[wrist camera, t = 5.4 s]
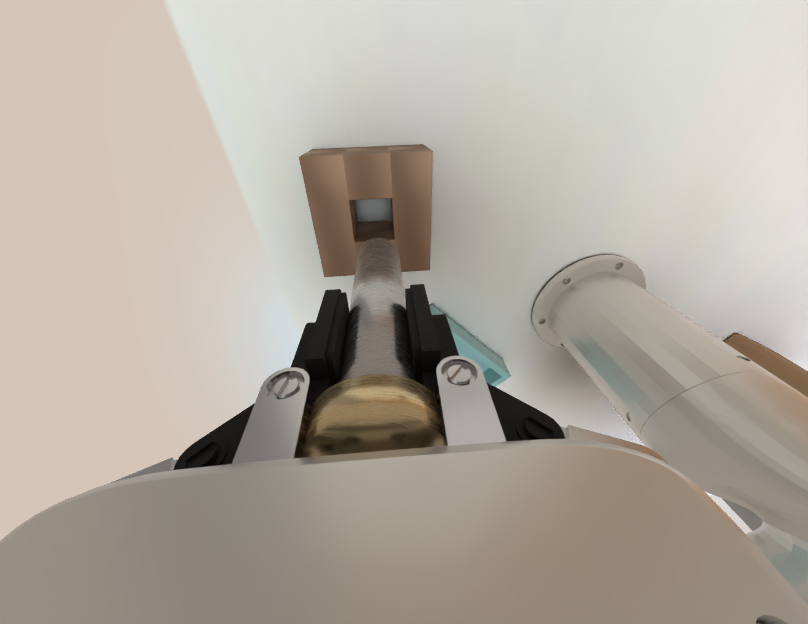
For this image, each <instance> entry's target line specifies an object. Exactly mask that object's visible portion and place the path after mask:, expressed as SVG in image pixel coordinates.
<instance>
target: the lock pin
mask: <svg viewBox="0 0 808 624" xmlns="http://www.w3.org/2000/svg"><path fill="white" fill-rule="evenodd" d="M438 446H445V444H444V437H443V430H442V424H441V417H440V411H439V404H438V398H437V397H436V396H435V394H434V393H433V392H432V391H431V390H429V389H428V388H427V387H425V386H424V385H422V384H420V383H418V382H416V381H415V376H414V368H413V360H412V353H411V345H410V337H409V330H408V322H407V315H406V303H405V295H404V288H403V280H402V273H401V266H400V258H399V252H398V249H397V248H396V246H395V245H394V244H393V243H392V242H391V241H389V240H387V239H385V238H372V239H369V240H367V241H366V242H365V243H364V244H363V245H362V246H361V248H360V250H359V253H358V260H357V266H356V273H355V279H354V285H353V292H352V298H351V305H350V311H349V319H348V325H347V331H346V338H345V344H344V351H343V357H342V364H341V370H340V377H339V383H337V384H334V385H333V386H331V387H329V388H328V389H326V390H325V391H324V392H323V393H322V394H321V395H320V396H319V397H318V398H317V399H316V400H315V402H314V403H313V406H312V408H311V411H310V417H309V422H308V427H307V432H306V437H305V441H304V446H303V455H302V458H305V457H316V456H328V455H340V454H352V453H364V452H376V451H388V450H400V449H412V448H425V447H438Z"/></svg>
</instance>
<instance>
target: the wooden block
mask: <svg viewBox="0 0 808 624" xmlns="http://www.w3.org/2000/svg"><path fill="white" fill-rule="evenodd" d="M724 342H725V343H726V344H728V345H729V346H731V347H732V348H734V349H735V350H737V351H738V352H740V353H741V354H743V355H744V356H746V357H747V358H749V359H750V360H752V361H753V362H755V363H756V364H758V365H759V366H761V367H762V368H764V369H765V370H767V371H768V372H770V373H772V374H773V375H775V376H776V377H778V378H779V379H781V380H782V381H784V382H785V383H787V384H788V385H790V386H791V387H793V388H794V389H796V390H797V391H799V392H800V393H802V394H803V395H805V396H806V397H808V371H806V370H804V369H803V368H801V367H799V366H798V365H796V364H794V363H793V362H791V361H789V360H788V359H786V358H784V357H783V356H781V355H779V354H778V353H776V352H774V351H772V350H770V349H768V348H766V347H764V346H763V345H761V344H759V343H757V342H755V341H753V340H751V339H749V338H747V337H745V336H743V335H741V334H734V335H732V336H731V337H729V338H728V339H727V340H725V341H724Z"/></svg>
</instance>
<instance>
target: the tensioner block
mask: <svg viewBox="0 0 808 624" xmlns="http://www.w3.org/2000/svg"><path fill="white" fill-rule="evenodd" d="M432 156H433V151H431V150H430V149H429V148H427V147H426V146H424V145H423V144H422V145H399V146H376V147H353V148H330V149H312V150H310V151H309V152H307V153H305V154H304V155H302V156H300V157H299V159H300V164H301V169H302V174H303V178H304V183H305V188H306V192H307V197H308V202H309V206H310V211H311V216H312V221H313V225H314V230H315V235H316V239H317V244H318V249H319V253H320V258H321V263H322V268H323V272H324V277H332V276H347V275H355V273H356V266H357V260H358V253H359V250H360V248H361V246H362V245H363V244H364V243H365V242H366V241H367V240H369V239H372V238H385V239H387V240H389V241H391V242H392V243H393V244H394V245H395V246H396V248H397V249H398V252H399V258H400V266H401V272H409V271H424V270H430V243H431V199H432ZM381 198H391V216H392V220H391V221H373V222H358V221H357V213H356V205H355V200H362V199H381Z"/></svg>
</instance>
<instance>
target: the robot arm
mask: <svg viewBox="0 0 808 624" xmlns="http://www.w3.org/2000/svg"><path fill="white" fill-rule="evenodd" d="M645 286H646V285H645V277H644V275H643V272H642V270H641V269H640V268H639V267H638V266H637V265H636V264H634V263H633V262H631V261H630V260H628V259H626V258H623V257H621V256H616V255H598V256H594V257H589V258H586V259H584V260H581V261H578V262H576V263H574V264H572V265H571V266H569V267H567V268H565V269H564V270H563V271H561V272H560V273H558V274H557V275H556V276H555V277H554V278H553V279H552V280H551V281H549V282H548V284H547V285H546V286H545V287H544V289H543V290H542V291H541V293H540V294H539V296H538V298H537V300H536V302H535V305H534V308H533V313H532V322H533V326H534V328H535V331H536V332H537V333H538V335H539V336H540V338H542V339H543V340H544V341H545V342H546V343H548V344H550V345H552V346H556V347H560V348H566V349H567V350H568V351H569V352H570V354H571V355H572V356H573V357H574V358H575V360H576V361H577V362H578V363H579V365H580V366H581V367H582V368H583V370H584V371H585V372H586V373H587V375H588V376H589V377H590V378H591V380H592V381H593V382H594V383H595V384H596V386H597V387H598V388H599V389H600V391H601V392H602V393H603V394H604V396H605V397H606V398H607V399H608V401H609V402H610V403H611V404H612V406H613V407H614V408H615V409H616V410H617V412H618V413H619V414H620V415H621V417H622V418H623V419H624V420H625V422H626V423H627V424H628V425H629V427H630V428H631V429H632V430H633V432H634V433H635V434H636V435H637V437H638V438H639V439H640V440H641V441H642V443H643V444H644V445H645V446H646V447H644V446H642V445H639V444H636V443H632V442H628V441H625V440H621V439H617V438H614V437H610V436H606V435H603V434H599V433H595V432H592V431H588V430H584V429H581V428H577V427H573V426H570V425H568V427H567V428H563V427H560V426H559V425H558V424H557V423H556V421H555V420H554V419H552V418H551V417H549V416H548V415H546V414H544V413H543V412H541V411H539V410H537V409H535V408H533V407H531V406H530V405H528V404H526V403H524V402H522V401H520V400H518V399H516V398H515V397H513V396H511V395H509V394H507V393H505V392H503V391H502V390H500V389H498V388H496V387H494V386H492V385H490V384H489V383H487V382H486V380H485V377H484V374H483V371H482V369H481V367H480V366H479V365H478V364H477V363H476V362H475V361H473V360H472V359H470V358H467V357H463V356H459V353H458V350H457V347H456V344H455V341H454V338H453V335H452V332H451V329H450V326H449V323H448V320H447V317H446V315H445V314H437V315H432V314H431V310H430V306H429V302H428V299H427V295H426V291H425V287H424V284H418V285H410V289H405V297H406V315H407V322H408V330H409V337H410V345H411V353H412V360H413V368H414V376H415V381H416V382H418V383H420V384H422V385H424V386H425V387H427V388H428V389H429V390H431V391H432V392H433V393H434V394H435V396H436V397H437V398H438V404H439V411H440V417H441V424H442V430H443V437H444V444H445V446H438V447H425V448H412V449H400V450H388V451H376V452H364V453H352V454H340V455H328V456H316V457H305V458H302V455H303V446H304V441H305V437H306V432H307V427H308V422H309V417H310V411H311V408H312V406H313V403H314V402H315V400H316V399H317V398H318V397H319V396H320V395H321V394H322V393H323V392H324V391H325V390H326V389H328V388H329V387H331V386H333V385H334V384H337V383H339V377H340V370H341V364H342V357H343V351H344V344H345V338H346V331H347V325H348V319H349V307H348V301H347V296H346V293H341V290H340V289H336V290H326V291H325V294H324V297H323V300H322V304H321V307H320V310H319V313H318V317H317V320H316V322H315V323H307V324H306V326H305V328H304V331H303V334H302V337H301V340H300V343H299V345H298V348H297V351H296V354H295V357H294V360H293V363H292V365H291V367H290V368H285V369H282V370H279V371H277V372H275V373H274V374H272V375H271V376H269V377H268V378H267V379H266V380H265V381H264V383H263V385H262V386H261V389H260V391H259V394H258V397H257V399H256V402H255V403H254V404H253V405H252V406H250V407H248V408H247V409H245V410H244V411H242V412H241V413H239V414H238V415H236V416H235V417H233V418H232V419H230V420H229V421H227V422H226V423H224V424H222V425H221V426H219V427H218V428H216V429H215V430H213V431H212V432H210V433H209V434H207V435H206V436H204V437H203V438H201V439H200V440H198V441H197V442H195V443H194V444H193V445H191V446H190V447H189V448H188V449H186V450H185V452H184V453H183V454H182V455H181V456H180V457H179V459H178V460H174V459H173V458H170V459H167V460H165V461H162V462H160V463H158V464H155V465H152V466H150V467H148V468H145V469H143V470H140V471H138V472H136V473H133V474H131V475H128V476H126V477H124V478H121V479H119V480H116V481H114V482H111V483H109V484H107V485H104V486H100V487H97V488H94V489H92V490H89V491H87V492H84V493H82V494H79V495H77V496H74V497H72V498H69V499H67V500H64V501H62V502H60V503H58V504H56V505H54V506H52V507H50V508H48V509H46V510H44V511H42V512H40V513H39V514H37V515H35V516H33V517H32V518H30V519H29V520H27V521H26V522H24V523H23V524H21V525H20V526H18V527H17V528H16V529H14V530H13V531H12V532H11V533H9V534H8V535H7V536H6V537H4V538H3V539H2V540H1V541H0V624H808V397H806V396H805V395H803V394H802V393H800V392H799V391H797V390H796V389H794V388H793V387H791V386H790V385H788V384H787V383H785V382H784V381H782V380H781V379H779V378H778V377H776V376H775V375H773V374H772V373H770V372H768V371H767V370H765V369H764V368H762V367H761V366H759V365H758V364H756V363H755V362H753V361H752V360H750V359H749V358H747V357H746V356H744V355H743V354H741V353H740V352H738V351H737V350H735V349H734V348H732V347H731V346H729V345H728V344H726V343H725V342H723V341H722V340H720V339H719V338H717V337H716V336H714V335H712V334H711V333H709V332H708V331H706V330H705V329H703V328H702V327H700V326H699V325H697V324H696V323H694V322H693V321H691V320H690V319H688V318H687V317H685V316H684V315H682V314H681V313H679V312H678V311H676V310H675V309H673V308H672V307H670V306H669V305H667V304H666V303H664V302H663V301H661V300H659V299H658V298H656V297H655V296H653V295H652V294H650V293H649V292H647V291H646V290H645ZM704 491H705V492H708V493H710V494H713V495H715V496H718V497H721V498H723V499H726V500H728V501H731V502H734V503H736V504H738V505H740V506H743V507H745V508H747V509H749V510H751V511H752V512H754V513H756V514H757V515H758V516H759V517H760V518H761V519H762V521H763V522H762V525H761V526H760V527H759V528H758V529H756V530H754V531H752V532H749V533H748V534H745V533H744V532H743V531H742V530H741V529H740V528H739V527H738V526H737V525H736V524H735V523H734V521H733V520H732V519H731V518H730V517H729V516H728V515H727V514H726V513H725V512H724V511H723V510H722V509H721V508H720V507H719V506H718V505H717V504H716V503H715V502H714V501H713V500H712V499H711V498H710V497H709V496H708V495H707V494H706V493H705V492H704Z"/></svg>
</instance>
